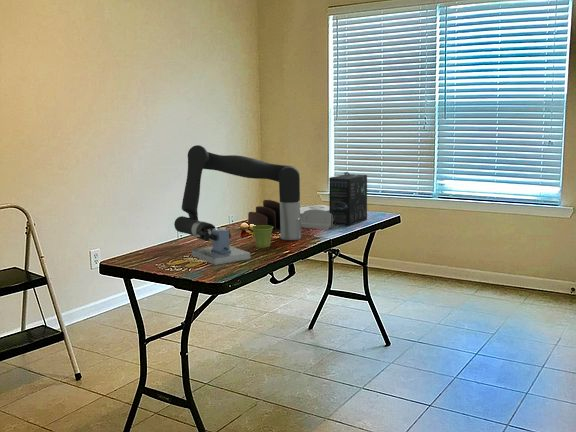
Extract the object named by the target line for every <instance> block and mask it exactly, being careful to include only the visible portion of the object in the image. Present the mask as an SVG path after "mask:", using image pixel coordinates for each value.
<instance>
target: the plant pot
mask: <svg viewBox="0 0 576 432" xmlns="http://www.w3.org/2000/svg"><path fill="white" fill-rule="evenodd" d="M272 229H273V226H269V225H258V226H253V227H252V228H251V230H252V232H253V237H254V241H255V247H256V248H258V249H265V248H270V247H271V240H272V233H273V232H272Z"/></svg>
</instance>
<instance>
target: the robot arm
mask: <svg viewBox="0 0 576 432" xmlns="http://www.w3.org/2000/svg"><path fill="white" fill-rule="evenodd" d="M203 170H209V171H210V170H211V171H218V172H222V173H223V174H225V173H226V174H230V175H232V176H236V177H242V178H246V179H256V180H257V179H260V180H261V179H262V180H263V179H264V180H271V181H275V182H277V183H278V187H279V188H278V190H279V191H278V192H279V193H278V194H279V195H278V196H279V203H280V240H284V241H296V240H297V241H298V240H300V239H301V238H302V227H301V217H300V207H301V192H300V191H301V190H300V189H301V183H300V182H301V180H300V178H301V177H300V172H299V169H298V168H296V167H295V166H292V165H286V164H285V165H283V164H276V163H270V162H267V161H264V160H261V159H256V158H253V157H249V156H244V155H234V154H233V155H231V154H229V155H222V154H217V153H212V152H210V151H208V150H207V149H206V148H205V147H204V146H202V145H199V144H198V145H197V144H196V145H193V146H191V147H190V149H188V152H187V173H186V174H187V175H186V181H185V187H184V192H183V196H182V197H183V198H182V202H181V210H182V212H184V213H186V214H188V217H187V216H184V215H182V216H181V215H180V216H178V217H177V218H176V219H175V220H174V223H173V224H174V230H175V231H177V232H179V233H184V234H188V235H190V236H193V237H195V238H196V239H198V240H202V241H205V242H211V241H212V240H214V241H217V235H215V234H212V230H213V229H218V228H216V226H215V225H214V224H212V223H211V222H206V221H200V220H199V217H198V216H199V214H198V213H199V212H198V208H199V200H200V195H201V193H200V192H201V181H202V180H201V179H202V174H203ZM224 228H225V229H226V230H229V240H230V239H231V237H232V235H231V231H230V229H228V228H226V227H224Z"/></svg>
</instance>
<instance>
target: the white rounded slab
mask: <svg viewBox="0 0 576 432" xmlns="http://www.w3.org/2000/svg"><path fill="white" fill-rule="evenodd" d="M313 209H319V210H324V211H327V212H330V211H329V205H326V204H318V205H308V206H300V217H301V220H302V217H303V213H304V211H307V210H313Z"/></svg>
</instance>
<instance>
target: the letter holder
mask: <svg viewBox="0 0 576 432" xmlns="http://www.w3.org/2000/svg"><path fill="white" fill-rule="evenodd" d="M247 214H248V215H247V217H248V218H247V219H248V220H247V221H248V223H247V225H248V224H254V225H256V226H258V225H269V226H273V229H272V233H278V232H280V202H279V201H275V200H271V199H264V200H263V201H262V205H258V206H256V207H255V211H249V212H248V213H247Z"/></svg>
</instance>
